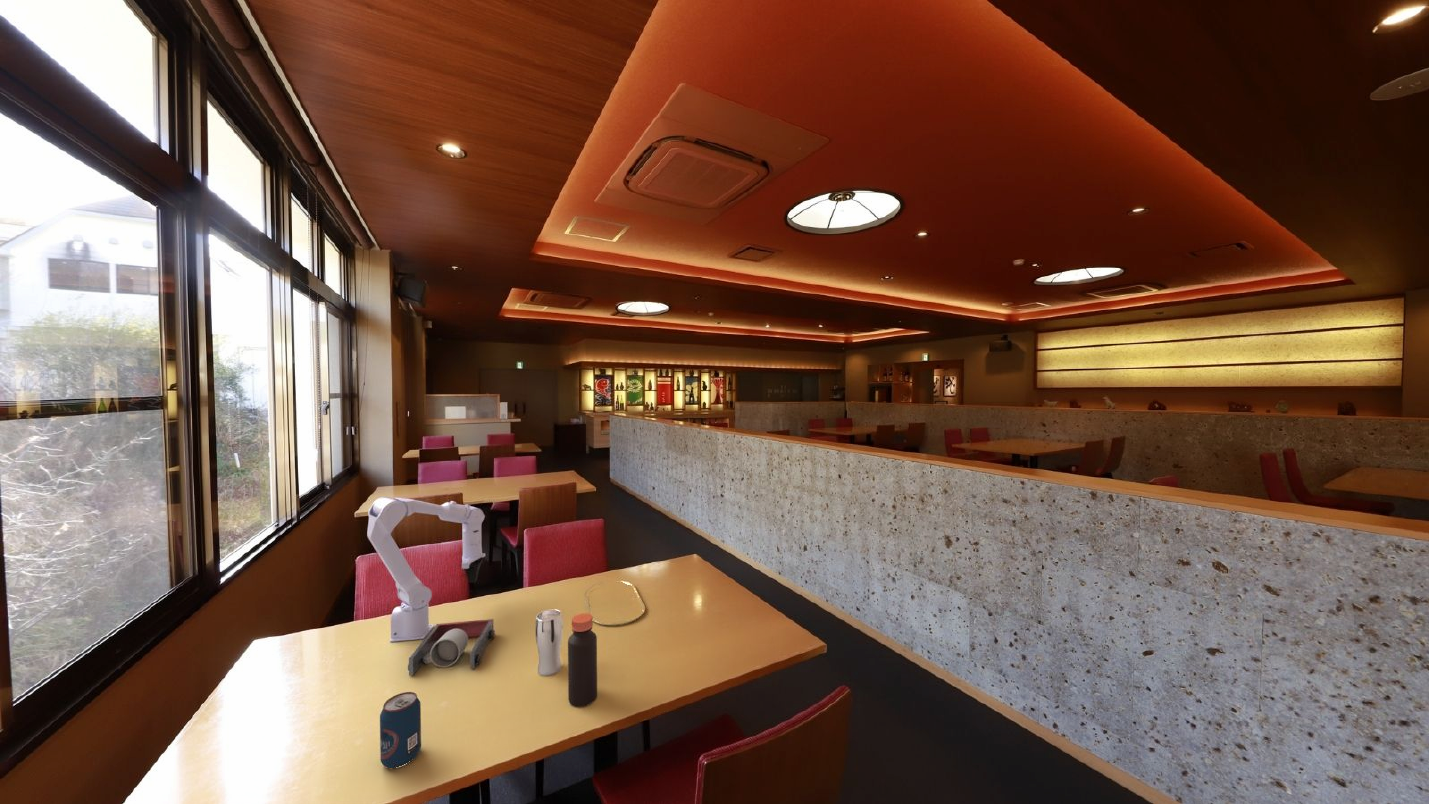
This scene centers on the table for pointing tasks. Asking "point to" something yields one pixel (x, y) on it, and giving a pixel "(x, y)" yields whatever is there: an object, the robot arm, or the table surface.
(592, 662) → the bottle
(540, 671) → the beer glass
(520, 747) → the table surface
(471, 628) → the grey u-frame
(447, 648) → the ceramic mug
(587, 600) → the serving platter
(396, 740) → the soda can
